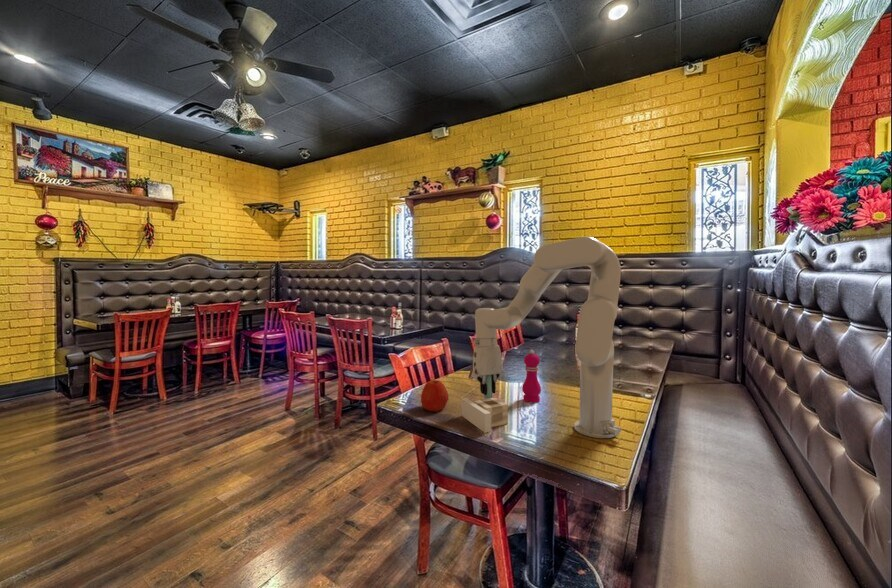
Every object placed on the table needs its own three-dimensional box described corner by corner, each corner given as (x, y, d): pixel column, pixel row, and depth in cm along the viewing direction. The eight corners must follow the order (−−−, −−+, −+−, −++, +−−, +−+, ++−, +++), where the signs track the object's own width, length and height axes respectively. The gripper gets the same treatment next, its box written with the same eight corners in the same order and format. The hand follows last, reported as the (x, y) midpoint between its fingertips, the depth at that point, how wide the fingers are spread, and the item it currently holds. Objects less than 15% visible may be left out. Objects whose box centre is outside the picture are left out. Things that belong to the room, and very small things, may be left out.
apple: (454, 408, 137) (454, 380, 137) (433, 415, 130) (433, 386, 130) (435, 401, 145) (435, 375, 144) (414, 408, 138) (414, 380, 137)
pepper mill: (539, 397, 149) (539, 348, 149) (542, 403, 142) (542, 351, 141) (521, 397, 150) (521, 348, 149) (523, 403, 143) (523, 351, 142)
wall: (490, 431, 116) (490, 412, 116) (485, 432, 115) (485, 413, 115) (466, 414, 131) (466, 398, 131) (461, 415, 130) (461, 398, 130)
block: (507, 424, 122) (507, 404, 122) (486, 428, 119) (486, 408, 119) (494, 415, 130) (494, 397, 129) (474, 419, 126) (474, 400, 126)
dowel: (493, 402, 134) (492, 374, 134) (487, 403, 133) (486, 375, 132) (489, 399, 136) (488, 372, 136) (483, 401, 135) (482, 373, 135)
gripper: (471, 346, 127) (473, 399, 128) (511, 341, 134) (513, 392, 134) (461, 343, 134) (463, 394, 134) (499, 339, 141) (501, 387, 141)
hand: (488, 392), depth 134 cm, fingers closed on dowel, 2 cm apart
